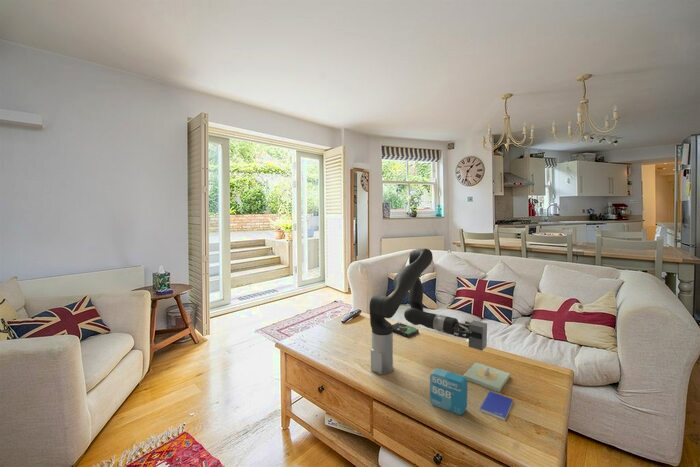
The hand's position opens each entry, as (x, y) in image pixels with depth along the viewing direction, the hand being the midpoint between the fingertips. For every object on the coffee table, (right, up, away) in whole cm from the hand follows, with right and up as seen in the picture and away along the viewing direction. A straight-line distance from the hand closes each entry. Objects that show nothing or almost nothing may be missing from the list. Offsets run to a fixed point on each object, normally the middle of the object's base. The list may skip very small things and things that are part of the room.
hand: (484, 334), depth 126 cm
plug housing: (-2, -6, +2) cm, 7 cm away
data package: (-21, -20, -18) cm, 34 cm away
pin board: (+1, -18, 0) cm, 18 cm away
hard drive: (-4, -20, -18) cm, 27 cm away
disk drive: (-25, -15, +48) cm, 56 cm away
